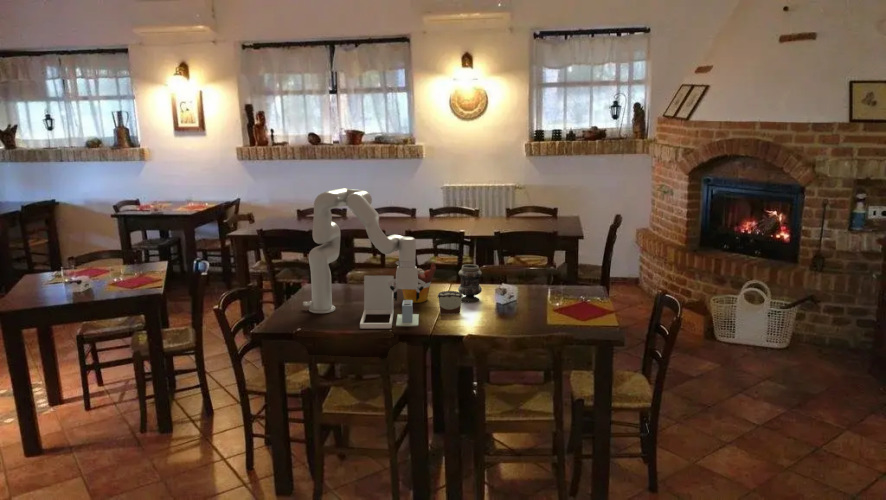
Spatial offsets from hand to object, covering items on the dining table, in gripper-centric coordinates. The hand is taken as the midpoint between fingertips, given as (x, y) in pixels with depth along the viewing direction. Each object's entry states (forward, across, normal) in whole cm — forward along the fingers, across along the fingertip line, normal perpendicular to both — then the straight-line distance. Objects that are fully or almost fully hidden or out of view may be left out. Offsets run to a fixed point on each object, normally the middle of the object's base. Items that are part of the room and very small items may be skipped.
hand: (406, 300), depth 314 cm
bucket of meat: (+10, +5, +34) cm, 36 cm away
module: (+9, +1, 0) cm, 9 cm away
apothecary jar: (+10, +32, +34) cm, 47 cm away
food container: (+10, +21, +13) cm, 26 cm away
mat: (+10, +1, 0) cm, 10 cm away
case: (+10, -13, +2) cm, 17 cm away
